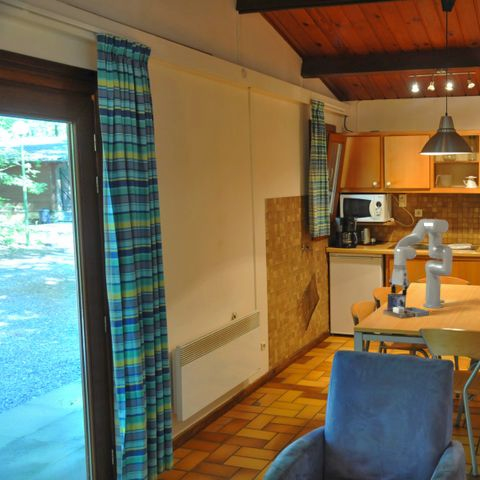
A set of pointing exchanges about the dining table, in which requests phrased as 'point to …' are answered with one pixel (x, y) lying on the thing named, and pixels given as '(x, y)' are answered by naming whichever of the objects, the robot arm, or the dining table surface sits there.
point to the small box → (396, 301)
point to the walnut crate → (401, 316)
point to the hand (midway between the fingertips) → (398, 294)
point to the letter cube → (398, 310)
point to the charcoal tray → (417, 311)
